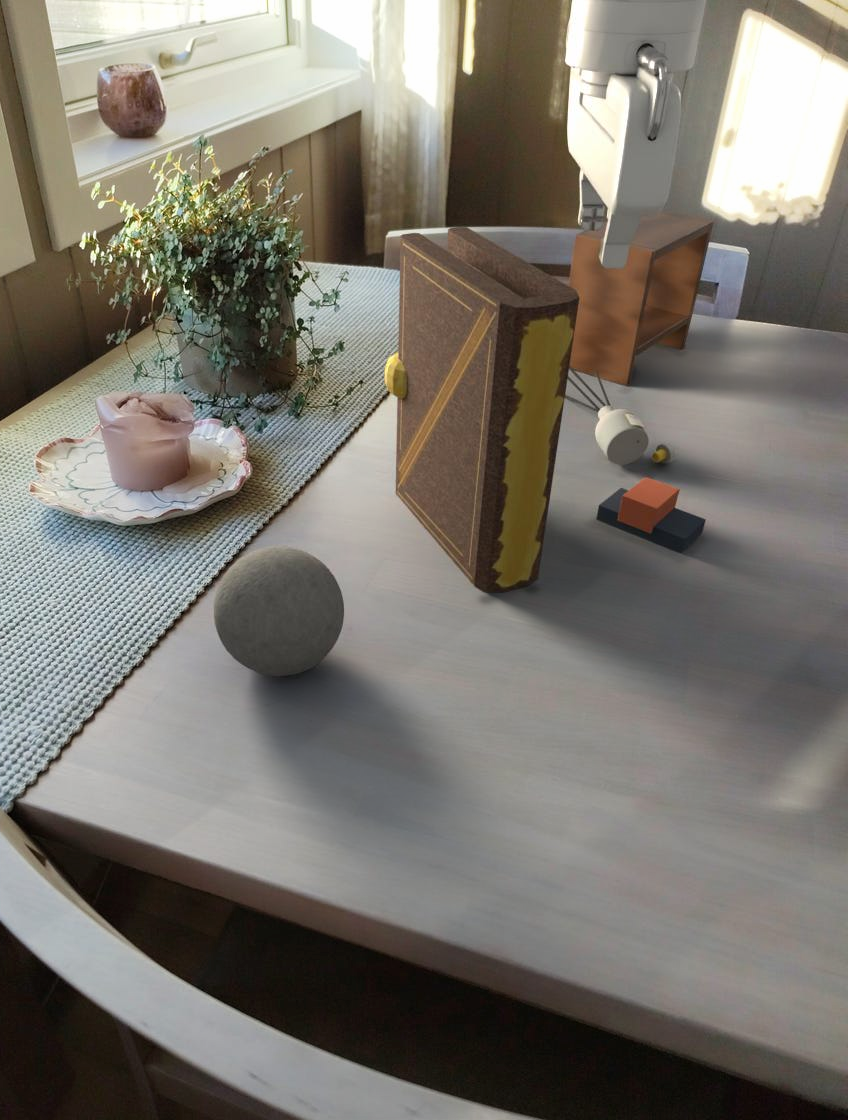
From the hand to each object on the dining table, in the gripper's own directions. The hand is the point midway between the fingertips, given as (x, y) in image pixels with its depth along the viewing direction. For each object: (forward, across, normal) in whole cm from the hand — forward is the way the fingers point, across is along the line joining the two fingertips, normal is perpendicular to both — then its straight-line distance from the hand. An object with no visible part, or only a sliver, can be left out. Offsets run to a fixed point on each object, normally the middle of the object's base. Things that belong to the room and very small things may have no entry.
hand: (599, 246), depth 71 cm
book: (+26, -1, +10) cm, 28 cm away
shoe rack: (+26, +40, -15) cm, 50 cm away
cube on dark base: (+26, 0, -9) cm, 27 cm away
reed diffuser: (+26, +20, -8) cm, 34 cm away
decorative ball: (+26, -20, +25) cm, 41 cm away
